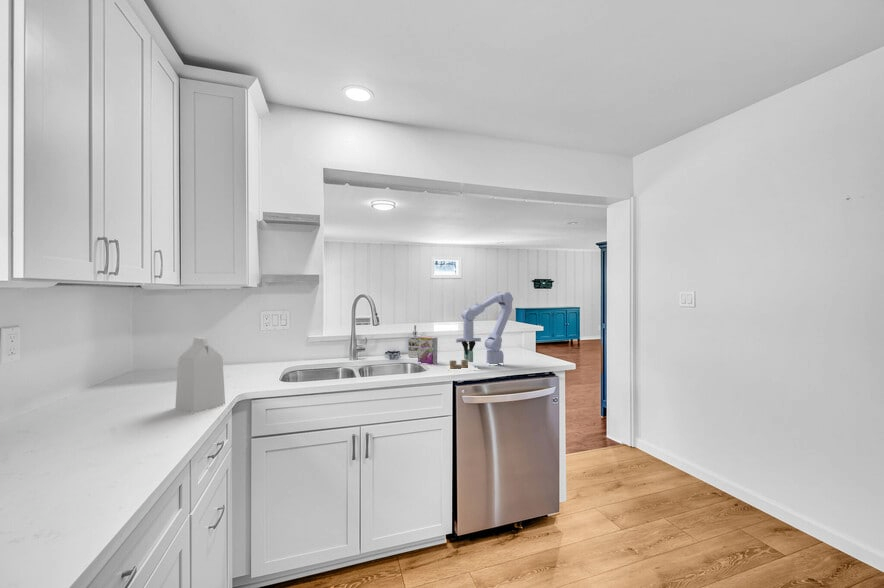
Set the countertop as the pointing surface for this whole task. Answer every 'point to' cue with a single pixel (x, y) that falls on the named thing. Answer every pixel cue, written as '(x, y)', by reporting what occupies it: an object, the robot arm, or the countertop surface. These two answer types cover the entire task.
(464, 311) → the robot arm
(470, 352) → the light green flat block
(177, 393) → the milk
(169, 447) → the countertop surface
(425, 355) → the candy bar box
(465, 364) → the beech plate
